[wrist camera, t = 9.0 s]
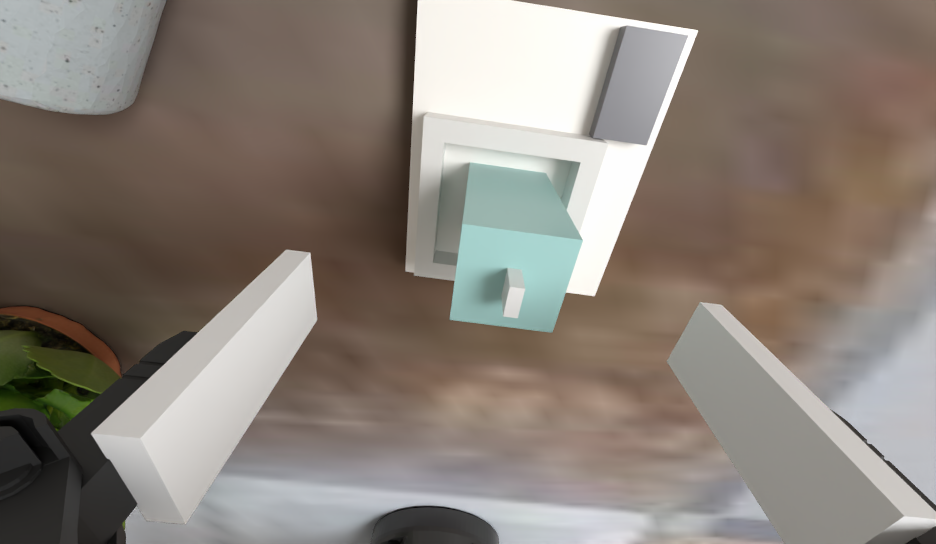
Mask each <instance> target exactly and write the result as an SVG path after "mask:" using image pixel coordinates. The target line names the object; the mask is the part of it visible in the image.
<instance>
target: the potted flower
mask: <svg viewBox="0 0 936 544" xmlns="http://www.w3.org/2000/svg"><path fill="white" fill-rule="evenodd" d="M119 378H120V379H122V378H121V373H120V364H119V361H118V359H117V358H116V356H115V354H114V353H113V351H112V350H111V349H110V348H109V347H108V346H107V345H106V344H105V343H104V342H103V341H101V340H100V339H99V338H97V337H95V336H94V335H93V334H92V333H91V332H90V331H88V330H87V329H86V328H85V327H84V326H83V325H81V324H79V323H77V322H74V321H71V320H69V319H67V318H65V317H63V316H61V315H57V314H54V313H50V312H47V311H45V310H42V309H40V308H35V307H28V306H20V307H7V308H1V309H0V411H4V410H9V409H14V408H30V409H35V410H37V411H40V412H42V413H44V414H45V415H46V416H47V418H48V419H49V421H50V422H51V424H52V425H53V426H54V428H55V429H56V431H59V430H60V429H61V428H62V427H63V426H64V425H66V424H67V423H68V422H69V421H70V420H71V419H72V418H74V417H75V416H76V415H77V414H78V413H79V412H81V411H82V410H83V409H84V408H85V407H86V406H88V405H89V404H90V403H91V402H92V401H93V400H95V399H96V398H97V397H98V396H99V395H100V394H102V393H103V392H104V391H105V390H106V389H107V388H109V387H110V386H111V385H112V384H113V383H114V382H115V381H117V380H118V379H119ZM122 525H123V528H124V530H125V521H124V522H123V523H122Z"/></svg>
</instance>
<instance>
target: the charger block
mask: <svg viewBox="0 0 936 544" xmlns="http://www.w3.org/2000/svg"><path fill="white" fill-rule="evenodd" d="M582 242H583V239H582V237H581V236H580V234H579V232H578V230H577V228H576V227H575V225H574V223H573V221H572V219H571V218H570V216H569V214H568V212H567V210H566V209H565V207H564V205H563V203H562V201H561V199H560V198H559V196H558V194H557V192H556V190H555V189H554V187H553V185H552V183H551V181H550V180H549V178H548V176H547V174H546V173H543V172H536V171H529V170H522V169H515V168H508V167H501V166H494V165H487V164H480V163H473V162H470V165H469V173H468V180H467V188H466V196H465V203H464V211H463V218H462V226H461V234H460V242H459V249H458V257H457V265H456V273H455V281H454V289H453V297H452V305H451V313H450V320H456V321H464V322H472V323H480V324H488V325H496V326H504V327H512V328H520V329H528V330H536V331H544V332H553V329H554V326H555V323H556V320H557V317H558V314H559V311H560V308H561V305H562V302H563V299H564V296H565V293H566V290H567V287H568V284H569V281H570V278H571V275H572V272H573V269H574V266H575V263H576V260H577V257H578V254H579V251H580V248H581V245H582Z"/></svg>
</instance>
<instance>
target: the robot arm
mask: <svg viewBox="0 0 936 544" xmlns="http://www.w3.org/2000/svg"><path fill="white" fill-rule="evenodd" d="M316 321H317V313H316V303H315V293H314V284H313V274H312V264H311V254H310V253H309V252H301V251H293V250H285V251H284V252H283V253H282V254H281V255H280V256H279V257H278V258H277V259H276V260H275V261H274V262H273V263H272V264H271V265H269V266H268V267H267V268H266V269H265V270H264V271H263V272H262V273H261V274H260V275H259V276H258V277H257V278H256V279H255V280H253V281H252V282H251V283H250V284H249V285H248V286H247V287H246V288H245V289H244V290H243V291H242V292H241V293H240V294H239V295H238V296H236V297H235V298H234V299H233V300H232V301H231V302H230V303H229V304H228V305H227V306H226V307H225V308H224V309H223V310H222V311H220V312H219V313H218V314H217V315H216V316H215V317H214V318H213V319H212V320H211V321H210V322H209V323H208V324H207V325H206V326H205V327H203V328H202V329H201V330H200V331H199V332H198V333H197V332H188V331H183V332H181V333H179V334H177V335H175V336H173V337H171V338H170V339H168V340H166V341H164V342H162V343H160V344H158V345H157V346H156V347H155V348H154V349H153V350H152V351H150V352H149V353H148V354H147V355H146V356H145V357H143V358H142V359H141V360H140V363H139V364H135V365H134V366H133V367H132V368H131V369H129V370H128V371H127V372H126V373H125V374H124V376H123V378H122V379H120V378H119V379H118V380H117V381H115V382H114V383H113V384H112V385H111V386H110V387H109V388H107V389H106V390H105V391H104V392H103V393H102V394H100V395H99V396H98V397H97V398H96V399H95V400H93V401H92V402H91V403H90V404H89V405H88V406H86V407H85V408H84V409H83V410H82V411H81V412H79V413H78V414H77V415H76V416H75V417H74V418H72V419H71V420H70V421H69V422H68V423H67V424H66V425H64V426H63V427H62V428H61V429H60V430H59V431H56V429H55V428H54V426H53V425H52V424H51V422H50V421H49V419H48V418H47V416H46V415H45V414H44V413H42V412H40V411H37V410H35V409H30V408H14V409H9V410H4V411H0V544H126V533H125V531H124V528H123V525H122V523H123V522H124V521H125V520H126V518H127V517H128V516H129V514H130V513H131V512H132V511H133V509H134V508H135V507H136V506H137V507H138V509H139V510H140V512H141V514H142V515H143V517H144V518H145V520H146V521H151V522H162V523H173V524H184V525H186V524H187V522H188V520H189V519H190V517H191V516H192V514H193V513H194V511H195V510H196V508H197V506H198V505H199V503H200V502H201V500H202V499H203V497H204V496H205V494H206V492H207V491H208V489H209V488H210V486H211V485H212V483H213V482H214V480H215V478H216V477H217V475H218V474H219V472H220V471H221V469H222V467H223V466H224V464H225V463H226V461H227V460H228V458H229V457H230V455H231V453H232V452H233V450H234V449H235V447H236V446H237V444H238V443H239V441H240V439H241V438H242V436H243V435H244V433H245V432H246V430H247V429H248V427H249V425H250V424H251V422H252V421H253V419H254V418H255V416H256V415H257V413H258V411H259V410H260V408H261V407H262V405H263V404H264V402H265V401H266V399H267V397H268V396H269V394H270V393H271V391H272V390H273V388H274V386H275V385H276V383H277V382H278V380H279V379H280V377H281V376H282V374H283V372H284V371H285V369H286V368H287V366H288V365H289V363H290V362H291V360H292V358H293V357H294V355H295V354H296V352H297V351H298V349H299V348H300V346H301V344H302V343H303V341H304V340H305V338H306V337H307V335H308V334H309V332H310V330H311V329H312V327H313V326H314V324H315V323H316ZM667 363H668V364H669V366H670V367H671V369H672V370H673V372H674V373H675V375H676V377H677V378H678V380H679V381H680V383H681V384H682V386H683V387H684V389H685V390H686V392H687V394H688V395H689V397H690V398H691V400H692V401H693V403H694V404H695V406H696V407H697V409H698V410H699V412H700V414H701V415H702V417H703V418H704V420H705V421H706V423H707V424H708V426H709V427H710V429H711V431H712V432H713V434H714V435H715V437H716V438H717V440H718V441H719V443H720V444H721V446H722V448H723V449H724V451H725V452H726V454H727V455H728V457H729V458H730V460H731V461H732V463H733V465H734V466H735V468H736V469H737V471H738V472H739V474H740V475H741V477H742V478H743V480H744V482H745V483H746V485H747V486H748V488H749V489H750V491H751V492H752V494H753V495H754V497H755V499H756V500H757V502H758V503H759V505H760V506H761V508H762V509H763V511H764V512H765V514H766V516H767V517H768V519H769V520H770V522H771V523H772V525H773V526H774V528H775V529H776V531H777V533H778V534H779V536H780V537H781V539H782V540H783V542H784V543H785V544H936V505H935V504H934V503H933V502H932V501H930V500H929V499H928V498H927V497H926V496H925V495H924V494H923V493H922V492H921V491H920V490H919V489H918V488H917V487H916V486H915V485H914V484H913V483H912V482H911V481H909V480H908V479H907V478H906V477H905V476H904V475H903V474H902V473H901V472H900V471H899V470H898V469H897V468H896V467H895V466H894V465H893V464H892V463H891V462H890V461H886V460H885V459H884V456H883V455H882V454H881V453H880V452H879V451H878V450H877V449H876V448H875V447H874V446H873V445H872V444H868V443H867V440H866V439H865V438H864V437H863V436H862V435H861V434H860V433H859V432H858V431H857V430H856V429H855V428H854V427H853V426H852V425H851V424H850V423H849V422H847V421H846V420H845V419H843V418H842V417H841V416H839V415H838V414H836V413H835V412H834V411H832V410H831V409H829V408H828V407H827V406H826V405H825V404H824V403H823V402H822V401H821V400H820V399H819V398H818V397H817V396H815V395H814V394H813V393H812V392H811V391H810V390H809V389H808V388H807V387H806V386H805V385H804V384H803V383H802V382H801V381H800V380H799V379H798V378H797V377H796V376H795V375H794V374H793V373H792V372H791V371H790V370H789V369H788V368H786V367H785V366H784V365H783V364H782V363H781V362H780V361H779V360H778V359H777V358H776V357H775V356H774V355H773V354H772V353H771V352H770V351H769V350H768V349H767V348H766V347H765V346H764V345H763V344H762V343H761V342H760V341H759V340H757V339H756V338H755V337H754V336H753V335H752V334H751V333H750V332H749V331H748V330H747V329H746V328H745V327H744V326H743V325H742V324H741V323H740V322H739V321H738V320H737V319H736V318H735V317H734V316H733V315H732V314H731V313H729V312H728V311H727V310H726V309H725V308H724V307H723V306H722V305H719V304H711V303H703V302H700V303H699V305H698V307H697V308H696V310H695V312H694V314H693V316H692V317H691V319H690V321H689V323H688V324H687V326H686V328H685V330H684V332H683V333H682V335H681V337H680V339H679V341H678V342H677V344H676V346H675V348H674V349H673V351H672V353H671V355H670V357H669V358H668V360H667ZM371 544H499V538H498V535H497V533H496V531H495V530H494V529H493V528H492V527H491V526H490V525H489V524H488V523H486V522H485V521H483V520H481V519H480V518H477V517H475V516H473V515H470V514H467V513H464V512H461V511H456V510H451V509H445V508H433V507H422V508H411V509H405V510H401V511H397V512H394V513H391V514H389V515H387V516H385V517H384V518H382V519H381V520H380V521H379V522H378V523H377V524H376V525H375V527H374V531H373V535H372V540H371Z"/></svg>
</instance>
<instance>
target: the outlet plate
mask: <svg viewBox="0 0 936 544" xmlns="http://www.w3.org/2000/svg"><path fill="white" fill-rule="evenodd" d="M697 32H698V30H692V29H686V28H679V27H673V26H667V25H661V24H655V23H648V22H642V21H636V20H630V19H624V18H617V17H611V16H605V15H599V14H593V13H586V12H580V11H574V10H568V9H562V8H555V7H549V6H543V5H537V4H531V3H524V2H518V1H512V0H418V7H417V28H416V50H415V72H414V94H413V116H412V137H411V159H410V181H409V203H408V225H407V246H406V268H405V271H406V272H414V276H421V277H429V278H437V279H445V280H452V281H455V273H456V265H457V257H458V249H459V242H460V234H461V226H462V218H463V211H464V203H465V196H466V188H467V180H468V173H469V165H470V162H473V163H480V164H487V165H494V166H501V167H508V168H515V169H522V170H529V171H536V172H543V173H546V174H547V176H548V178H549V180H550V181H551V183H552V185H553V187H554V189H555V190H556V192H557V194H558V196H559V198H560V199H561V201H562V203H563V205H564V207H565V209H566V210H567V212H568V214H569V216H570V218H571V219H572V221H573V223H574V225H575V227H576V228H577V230H578V232H579V234H580V236H581V237H582V239H583V242H582V245H581V248H580V251H579V254H578V257H577V260H576V263H575V266H574V269H573V272H572V275H571V278H570V281H569V284H568V287H567V290H566V292H567V293H575V294H582V295H590V296H595V294H596V291H597V289H598V286H599V283H600V281H601V278H602V276H603V273H604V271H605V268H606V266H607V263H608V260H609V258H610V255H611V253H612V250H613V248H614V245H615V242H616V240H617V237H618V235H619V232H620V230H621V227H622V224H623V222H624V219H625V217H626V214H627V212H628V209H629V207H630V204H631V201H632V199H633V196H634V194H635V191H636V189H637V186H638V183H639V181H640V178H641V176H642V173H643V171H644V168H645V165H646V163H647V160H648V158H649V155H650V153H651V150H652V148H653V145H654V142H655V140H656V137H657V135H658V132H659V130H660V127H661V124H662V122H663V119H664V117H665V114H666V112H667V109H668V106H669V104H670V101H671V99H672V96H673V94H674V91H675V88H676V86H677V83H678V81H679V78H680V76H681V73H682V71H683V68H684V65H685V63H686V60H687V58H688V55H689V53H690V50H691V47H692V45H693V42H694V40H695V37H696V35H697Z"/></svg>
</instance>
